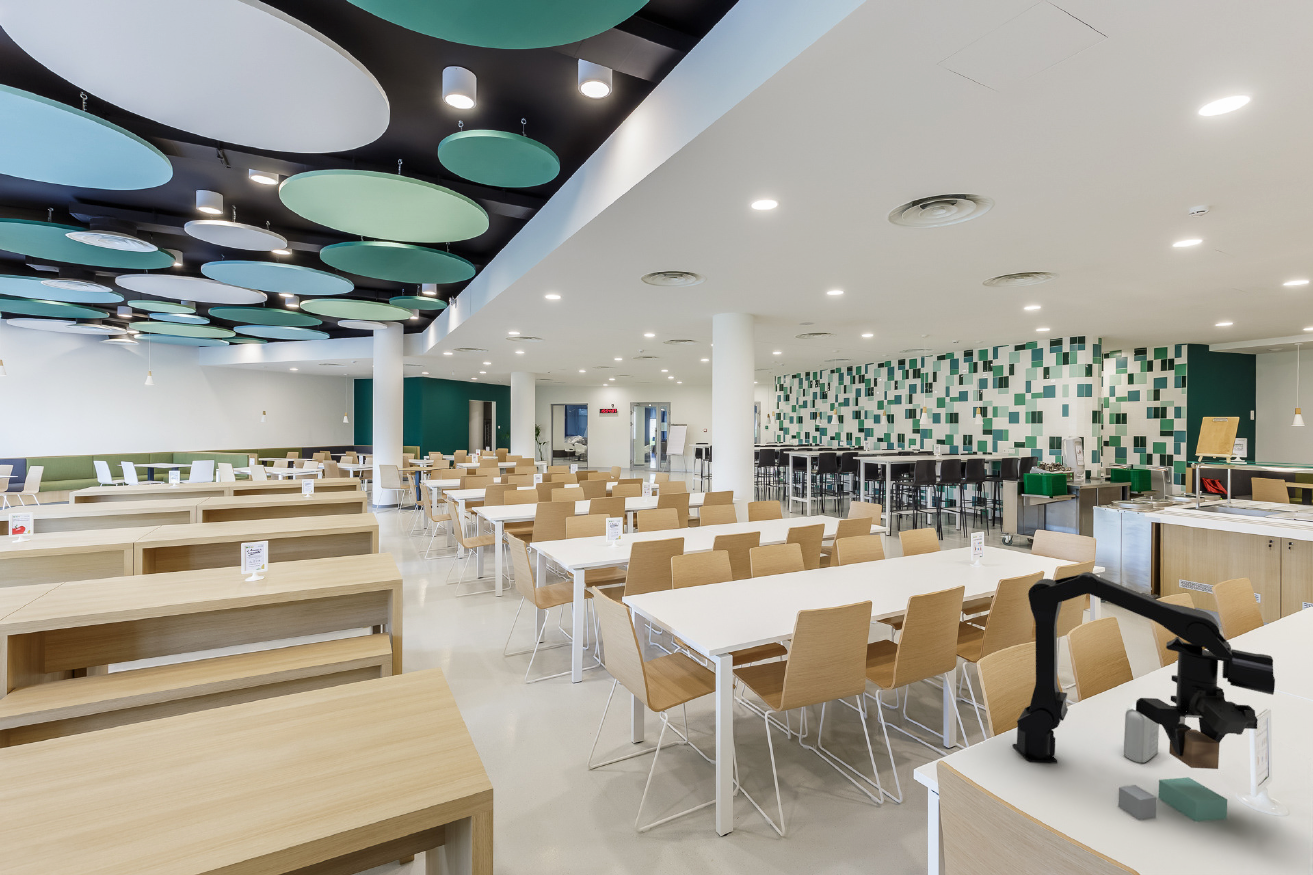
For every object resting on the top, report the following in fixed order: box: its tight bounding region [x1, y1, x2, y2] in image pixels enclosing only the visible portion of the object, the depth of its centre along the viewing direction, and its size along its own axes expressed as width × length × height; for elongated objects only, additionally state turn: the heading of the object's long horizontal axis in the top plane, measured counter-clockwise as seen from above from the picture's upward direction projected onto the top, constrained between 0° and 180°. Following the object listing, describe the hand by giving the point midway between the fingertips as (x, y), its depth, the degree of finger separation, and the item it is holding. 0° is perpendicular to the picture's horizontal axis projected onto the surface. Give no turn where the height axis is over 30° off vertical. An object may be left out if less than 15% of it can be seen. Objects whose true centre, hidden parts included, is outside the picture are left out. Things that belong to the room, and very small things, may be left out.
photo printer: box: [1123, 699, 1160, 764], centre depth 133 cm, size 10×4×12 cm, turn 123°
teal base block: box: [1158, 776, 1228, 823], centre depth 114 cm, size 7×7×4 cm
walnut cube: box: [1168, 728, 1220, 770], centre depth 114 cm, size 5×5×5 cm
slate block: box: [1117, 784, 1157, 821], centre depth 113 cm, size 4×4×4 cm
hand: (1193, 755), depth 114 cm, fingers closed on walnut cube, 5 cm apart
